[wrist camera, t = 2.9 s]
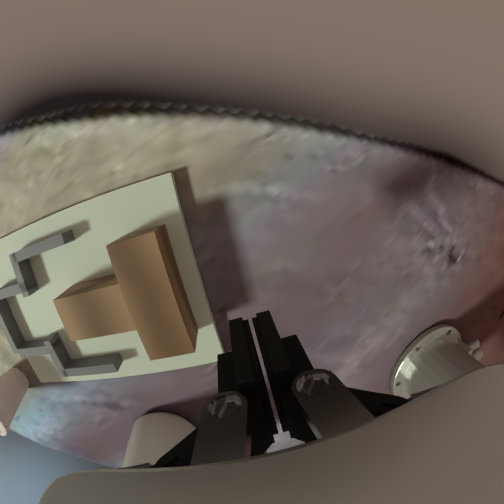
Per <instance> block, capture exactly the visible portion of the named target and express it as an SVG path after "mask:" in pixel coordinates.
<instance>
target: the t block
mask: <svg viewBox="0 0 504 504" xmlns="http://www.w3.org/2000/svg"><path fill="white" fill-rule="evenodd" d="M106 248H107V251H108V254H109V258H110V261H111V264H112V267H113V270H114V273H115V274H112V275H108V276H104V277H100V278H97V279H93V280H89V281H86V282H82V283H78V284H75V285H72V286H71V287H69V288H68V289H67V290H65V291H64V292H63V293H62V294H60V295H59V296H58V297H56V298H55V299H54V300H53V302H54V305H55V307H56V310H57V312H58V314H59V316H60V319H61V321H62V323H63V325H64V328H65V330H66V332H67V334H68V336H69V338H70V340H71V341H77V340H84V339H90V338H96V337H102V336H107V335H113V334H119V333H124V332H129V331H135V330H137V332H138V334H139V337H140V339H141V341H142V343H143V346H144V348H145V350H146V352H147V354H148V357H149V359H150V361H151V360H157V359H163V358H168V357H174V356H179V355H185V354H190V353H195V350H196V342H197V335H198V327H197V324H196V321H195V318H194V315H193V312H192V309H191V306H190V303H189V300H188V297H187V294H186V291H185V288H184V285H183V282H182V279H181V276H180V272H179V269H178V266H177V263H176V259H175V256H174V253H173V249H172V246H171V242H170V239H169V235H168V232H167V228H166V224H163V225H159V226H156V227H152V228H149V229H145V230H142V231H138V232H135V233H132V234H128V235H125V236H122V237H121V238H119V239H117V240H115V241H113V242H112V243H110V244H108V245H106Z"/></svg>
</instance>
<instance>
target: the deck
mask: <svg viewBox="0 0 504 504" xmlns="http://www.w3.org/2000/svg"><path fill="white" fill-rule="evenodd" d="M163 224H166V228H167V232H168V235H169V239H170V242H171V246H172V249H173V253H174V256H175V259H176V263H177V266H178V269H179V272H180V276H181V279H182V282H183V285H184V288H185V291H186V294H187V297H188V300H189V303H190V306H191V309H192V312H193V315H194V318H195V321H196V324H197V327H198V335H197V342H196V350H195V353H190V354H185V355H179V356H174V357H168V358H163V359H157V360H151V361H150V359H149V357H148V354H147V352H146V350H145V348H144V346H143V343H142V341H141V339H140V337H139V334H138V332H137V330H135V331H129V332H124V333H119V334H113V335H107V336H102V337H96V338H90V339H84V340H77V341H71V340H70V338H69V336H68V334H67V332H66V330H65V328H64V325H63V323H62V321H61V319H60V316H59V314H58V312H57V310H56V307H55V305H54V302H53V300H54V299H55V298H56V297H58V296H59V295H60V294H62V293H63V292H64V291H65V290H67V289H68V288H69V287H71V286H72V285H75V284H78V283H82V282H86V281H89V280H93V279H97V278H100V277H104V276H108V275H112V274H115V273H114V270H113V267H112V264H111V261H110V258H109V254H108V251H107V248H106V245H108V244H110V243H112V242H113V241H115V240H117V239H119V238H121V237H122V236H125V235H128V234H132V233H135V232H138V231H142V230H145V229H149V228H152V227H156V226H159V225H163ZM0 325H1V327H2V329H3V331H4V333H5V336H6V338H7V340H8V342H9V344H10V346H11V348H12V350H13V352H14V353H15V354H16V353H19V354H20V356H21V357H26V358H27V359H28V361H29V363H30V365H31V367H32V368H33V370H34V372H35V373H36V375H37V377H38V378H39V380H40V382H67V381H83V380H96V379H107V378H117V377H125V376H134V375H141V374H149V373H156V372H162V371H168V370H175V369H180V368H186V367H192V366H197V365H202V364H207V363H212V362H217V355H218V354H222V353H225V351H224V348H223V345H222V342H221V339H220V336H219V333H218V330H217V327H216V324H215V321H214V318H213V315H212V312H211V308H210V305H209V302H208V299H207V296H206V292H205V289H204V286H203V283H202V279H201V276H200V272H199V269H198V266H197V262H196V259H195V255H194V252H193V248H192V245H191V241H190V237H189V234H188V230H187V226H186V223H185V219H184V215H183V211H182V207H181V203H180V199H179V195H178V191H177V187H176V183H175V179H174V175H173V173H171V172H170V173H167V174H164V175H160V176H157V177H154V178H151V179H147V180H144V181H141V182H138V183H135V184H132V185H129V186H126V187H123V188H120V189H117V190H114V191H111V192H109V193H106V194H103V195H100V196H98V197H95V198H92V199H90V200H87V201H85V202H82V203H79V204H77V205H74V206H72V207H69V208H67V209H65V210H62V211H60V212H57V213H55V214H53V215H50V216H48V217H46V218H44V219H41V220H39V221H37V222H35V223H32V224H30V225H28V226H26V227H24V228H22V229H20V230H18V231H16V232H14V233H12V234H10V235H8V236H6V237H4V238H2V239H0Z"/></svg>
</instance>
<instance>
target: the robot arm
mask: <svg viewBox="0 0 504 504" xmlns="http://www.w3.org/2000/svg"><path fill="white" fill-rule="evenodd" d="M256 316H257V317H255V318H252V321H253V325H254V328H255V332H256V336H257V339H258V343H259V347H260V351H261V354H262V358H263V362H264V365H265V369H266V373H267V376H268V380H269V384H270V387H271V391H272V394H273V398H274V401H275V405H276V409H277V412H278V416H279V419H280V423H281V426H282V430H283V432H286V431H289V433H290V436H291V438H295V439H298V440H301V441H303V444H301V445H298V446H294V447H290V448H287V449H283V450H279V451H275V452H271V453H267V451H266V450H267V449H268V448H269V447H270V445H271V444H272V443H275V441H274V437H273V435H274V434H278V430H277V426H276V422H275V418H274V415H273V411H272V407H271V403H270V399H269V396H268V392H267V388H266V384H265V380H264V376H263V372H262V369H261V365H260V362H259V358H258V355H257V351H256V347H255V344H254V340H253V337H252V333H251V329H250V326H249V322H248V319H247V320H243V319H242V317H241V318H237V319H233V320H229V327H230V337H231V346H232V351H231V352H226V353H222V354H218V355H217V364H218V393H219V394H216V395H214V396H212V397H211V398H210V399H208V401H207V402H206V403H205V405H204V407H203V410H202V414H201V419H200V423H199V426H198V427H197V428H196V429H195V430H193V431H192V432H191V433H190V434H189V435H188V436H186V437H185V438H184V439H183V440H182V441H180V442H179V443H178V444H177V445H175V446H174V447H173V448H172V449H171V450H169V451H168V452H167V453H166V454H164V455H163V456H162V457H161V458H160V459H159V460H158V461H157V462H156V463H155V464H154V465H151V464H150V463H144V464H139V465H134V466H129V467H124V468H118V469H93V470H85V471H78V472H74V473H69V474H66V475H63V476H61V477H58V478H56V479H55V480H54V481H52V482H51V483H50V484H49V485H48V487H47V488H46V490H45V492H44V493H43V495H42V497H41V499H40V502H39V504H504V363H496V364H490V365H487V366H484V365H483V364H482V363H480V362H479V361H478V360H480V359H481V358H482V356H483V353H482V350H481V349H480V348H478V347H479V346H480V342H479V340H478V339H475V340H474V341H472V342H471V343H470V344H468V345H467V344H465V343H463V342H462V341H461V336H460V333H459V332H458V330H457V329H456V328H454V327H453V326H451V325H448V324H441V325H437V326H434V327H432V328H430V329H428V330H427V331H425V332H424V333H422V334H421V335H420V336H419V337H417V338H416V339H415V340H414V341H413V342H412V343H411V344H410V345H409V346H408V348H407V349H406V350H405V351H404V353H403V354H402V356H401V357H400V359H399V360H398V362H397V364H396V366H395V368H394V370H393V374H392V377H391V383H390V385H391V391H392V393H393V395H389V394H382V393H376V392H370V391H364V390H358V389H353V388H348V387H346V386H345V385H344V384H343V383H342V382H341V381H340V380H339V379H338V378H337V376H336V375H335V374H333V373H332V372H331V371H329V370H326V369H314V368H313V366H312V364H311V362H310V361H309V359H308V357H307V355H306V353H305V351H304V349H303V347H302V345H301V343H300V341H299V339H298V337H297V336H296V335H292V336H288V337H285V338H281V339H280V336H279V334H278V331H277V329H276V326H275V324H274V322H273V319H272V317H271V314H270V312H269V310H268V311H264V312H261V313H257V314H256Z"/></svg>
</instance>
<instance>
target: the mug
mask: <svg viewBox="0 0 504 504" xmlns="http://www.w3.org/2000/svg"><path fill="white" fill-rule="evenodd" d="M195 429H196V427H195V426H194V425H192V424H191V423H190V422H188V421H187V420H186V419H184V418H182V417H180V416H178V415H175V414H171V413H166V412H154V413H150V414H146V415H143V416H141V417H140V418H138V419H137V420H136V421H135V423H134V424H133V427H132V431H131V434H130V437H129V441H128V445H127V448H126V452H125V455H124V459H123V463H122V467H121V468H124V467H129V466H134V465H139V464H144V463H150V464H151V465H154V464H155V463H156V462H157V461H158V460H159V459H160V458H161V457H162V456H163V455H164V454H166V453H167V452H168V451H169V450H171V449H172V448H173V447H174V446H175V445H177V444H178V443H179V442H180V441H182V440H183V439H184V438H185V437H186V436H188V435H189V434H190V433H191V432H192V431H193V430H195Z"/></svg>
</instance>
